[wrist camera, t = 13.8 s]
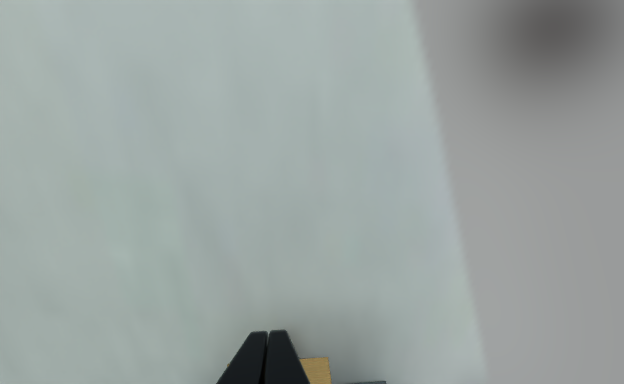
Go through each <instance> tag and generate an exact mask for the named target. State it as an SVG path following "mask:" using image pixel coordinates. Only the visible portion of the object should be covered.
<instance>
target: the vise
mask: <svg viewBox="0 0 624 384" xmlns="http://www.w3.org/2000/svg"><path fill="white" fill-rule="evenodd" d="M354 384H386V381H382V382H368V383H354Z"/></svg>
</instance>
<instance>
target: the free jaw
mask: <svg viewBox="0 0 624 384" xmlns="http://www.w3.org/2000/svg"><path fill="white" fill-rule="evenodd" d="M300 362H301V364H302V366H303V368H304V370H305V373H306V375H307V377H308V379H309V382H310V384H332V383H331V376H330V369H329V361H328V357H324V358H309V359H300ZM228 365H229V364H228ZM228 365H227V367H228Z"/></svg>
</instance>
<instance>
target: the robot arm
mask: <svg viewBox="0 0 624 384" xmlns="http://www.w3.org/2000/svg"><path fill="white" fill-rule="evenodd" d="M216 384H310V382H309V379H308V377H307V375H306V373H305V370H304V368H303V366H302V364H301V362H300V359H299V357H298V355H297V353H296V351H295V348H294V346H293V344H292V342H291V339H290V337H289V335H288V333H287V331H286V330H272V331H270V333H269V339H268V333H267V332H266V331H256V332H251V333H250V334H249V336H248V337H247V339H246V340H245V342H244V343H243V345H242V346H241V348H240V349H239V351H238V352H237V354H236V355H235V357H234V358H233V359H232V361H231V362H230V364H229V365H228V367H227V368H226V370H225V371H224V373H223V374H222V376H221V377H220V379H219V380H218V382H217V383H216Z"/></svg>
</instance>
